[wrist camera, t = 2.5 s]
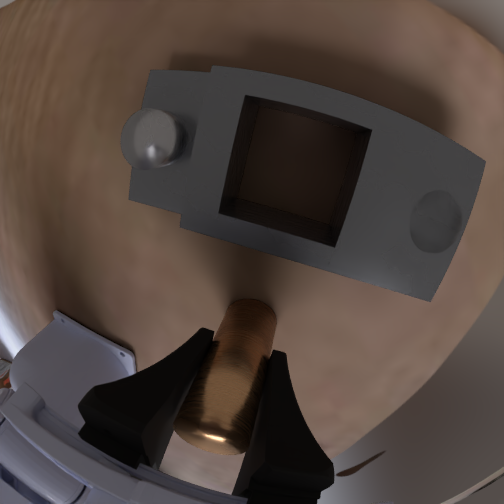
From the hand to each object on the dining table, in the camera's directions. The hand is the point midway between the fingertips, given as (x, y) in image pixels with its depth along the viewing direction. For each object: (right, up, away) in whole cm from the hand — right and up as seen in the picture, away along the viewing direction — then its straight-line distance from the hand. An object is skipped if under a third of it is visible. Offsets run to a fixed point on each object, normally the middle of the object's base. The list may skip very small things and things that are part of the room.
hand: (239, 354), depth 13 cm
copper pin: (+1, +1, +3) cm, 3 cm away
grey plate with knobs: (+3, +9, -1) cm, 9 cm away
